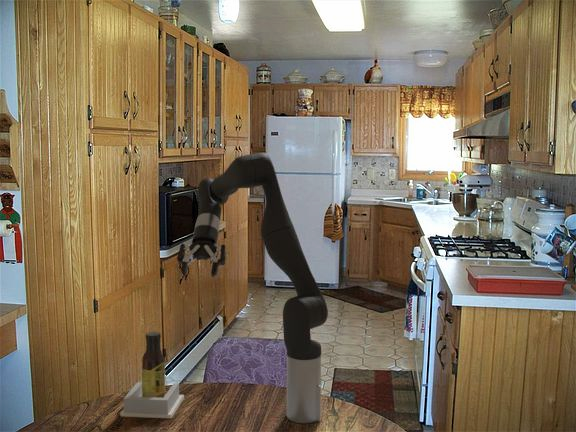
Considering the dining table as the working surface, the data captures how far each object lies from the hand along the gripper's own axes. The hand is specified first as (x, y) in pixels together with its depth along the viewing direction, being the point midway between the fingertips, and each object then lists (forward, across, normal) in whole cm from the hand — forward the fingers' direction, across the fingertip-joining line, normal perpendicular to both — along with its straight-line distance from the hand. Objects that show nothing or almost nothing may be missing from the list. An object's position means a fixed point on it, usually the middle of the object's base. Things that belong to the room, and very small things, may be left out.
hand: (198, 275), depth 172 cm
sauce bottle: (+33, -10, +14) cm, 38 cm away
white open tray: (+34, -10, +15) cm, 39 cm away
